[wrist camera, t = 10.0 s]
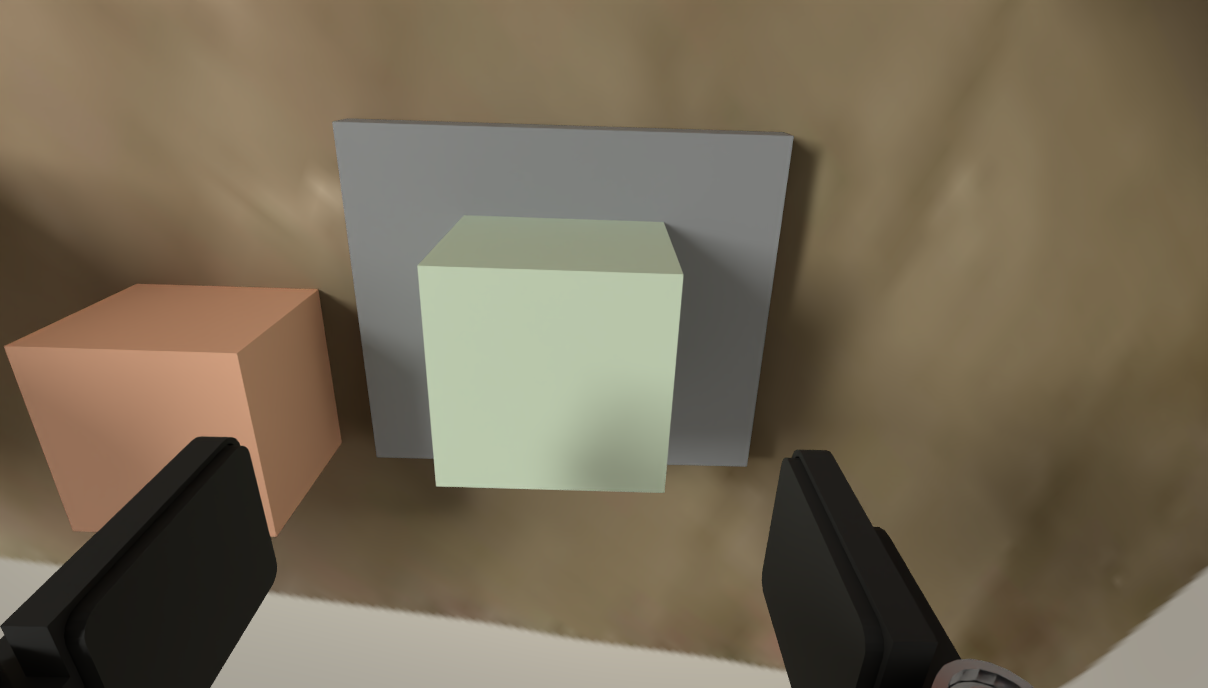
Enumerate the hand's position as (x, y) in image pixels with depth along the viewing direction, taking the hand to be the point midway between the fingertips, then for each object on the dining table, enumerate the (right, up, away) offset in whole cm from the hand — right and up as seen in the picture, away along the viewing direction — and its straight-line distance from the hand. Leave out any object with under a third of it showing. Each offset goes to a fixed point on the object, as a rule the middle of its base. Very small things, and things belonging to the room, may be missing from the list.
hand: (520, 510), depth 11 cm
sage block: (0, +4, +10) cm, 11 cm away
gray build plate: (0, +4, +12) cm, 12 cm away
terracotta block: (-12, +2, +13) cm, 18 cm away
